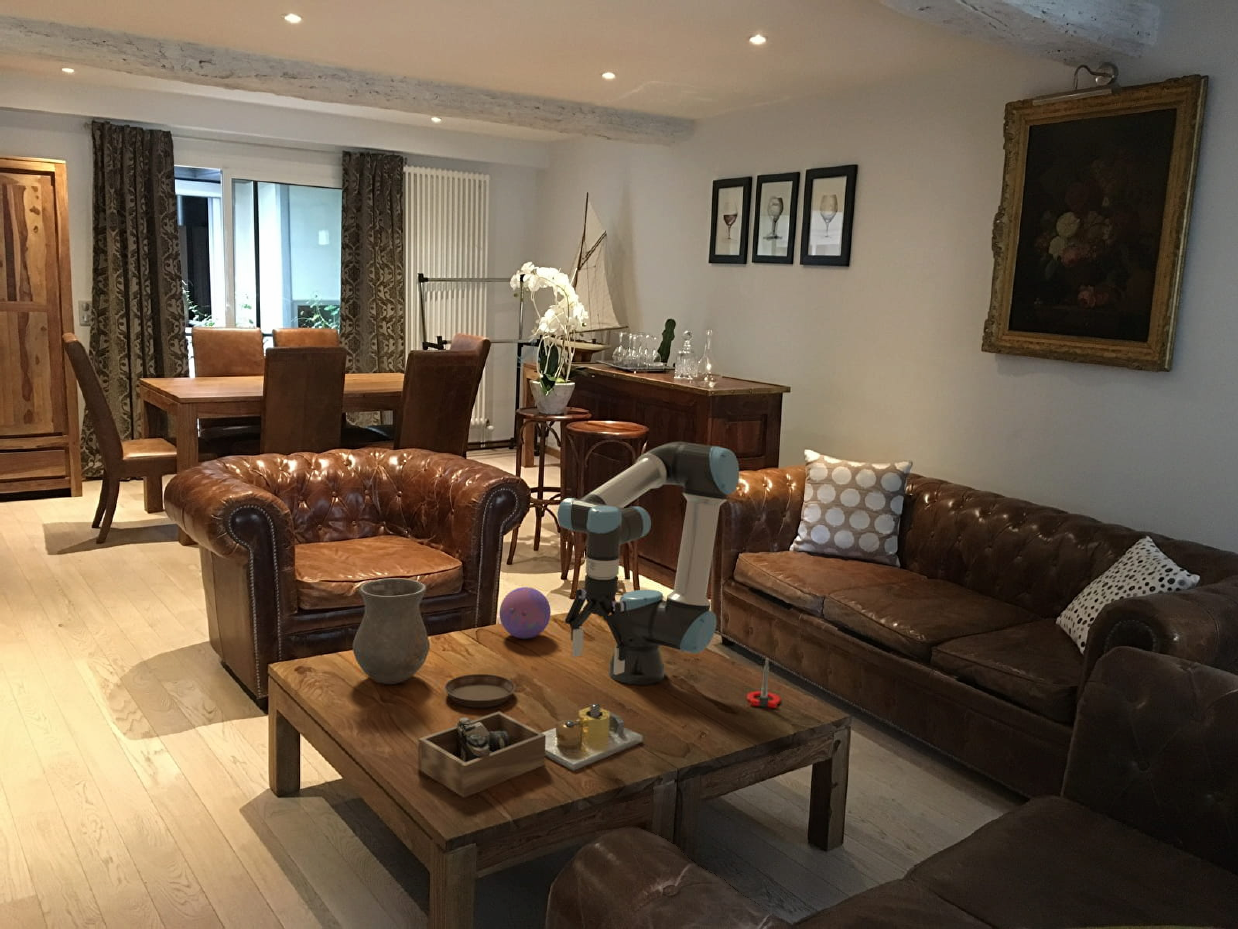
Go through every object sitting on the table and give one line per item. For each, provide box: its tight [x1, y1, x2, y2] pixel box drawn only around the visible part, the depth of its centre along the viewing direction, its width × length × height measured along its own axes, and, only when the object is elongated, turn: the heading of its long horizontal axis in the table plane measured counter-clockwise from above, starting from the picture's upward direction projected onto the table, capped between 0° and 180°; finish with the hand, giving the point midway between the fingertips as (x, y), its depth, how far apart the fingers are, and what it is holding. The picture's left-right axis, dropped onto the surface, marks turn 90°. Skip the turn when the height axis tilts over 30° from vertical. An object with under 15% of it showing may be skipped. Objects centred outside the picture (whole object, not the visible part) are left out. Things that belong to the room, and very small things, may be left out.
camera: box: [456, 716, 511, 762], centre depth 220 cm, size 16×10×10 cm, turn 25°
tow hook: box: [746, 657, 781, 709], centre depth 264 cm, size 8×13×9 cm
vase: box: [352, 577, 431, 685], centre depth 263 cm, size 20×19×25 cm
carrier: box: [542, 703, 643, 771], centre depth 234 cm, size 16×22×8 cm
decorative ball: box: [499, 586, 552, 640], centre depth 301 cm, size 15×15×15 cm
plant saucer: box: [444, 673, 516, 709], centre depth 258 cm, size 18×18×3 cm
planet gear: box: [578, 706, 610, 741], centre depth 236 cm, size 7×7×5 cm
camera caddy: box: [417, 711, 546, 798], centre depth 221 cm, size 16×22×7 cm
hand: (597, 664), depth 234 cm, fingers open, 13 cm apart
